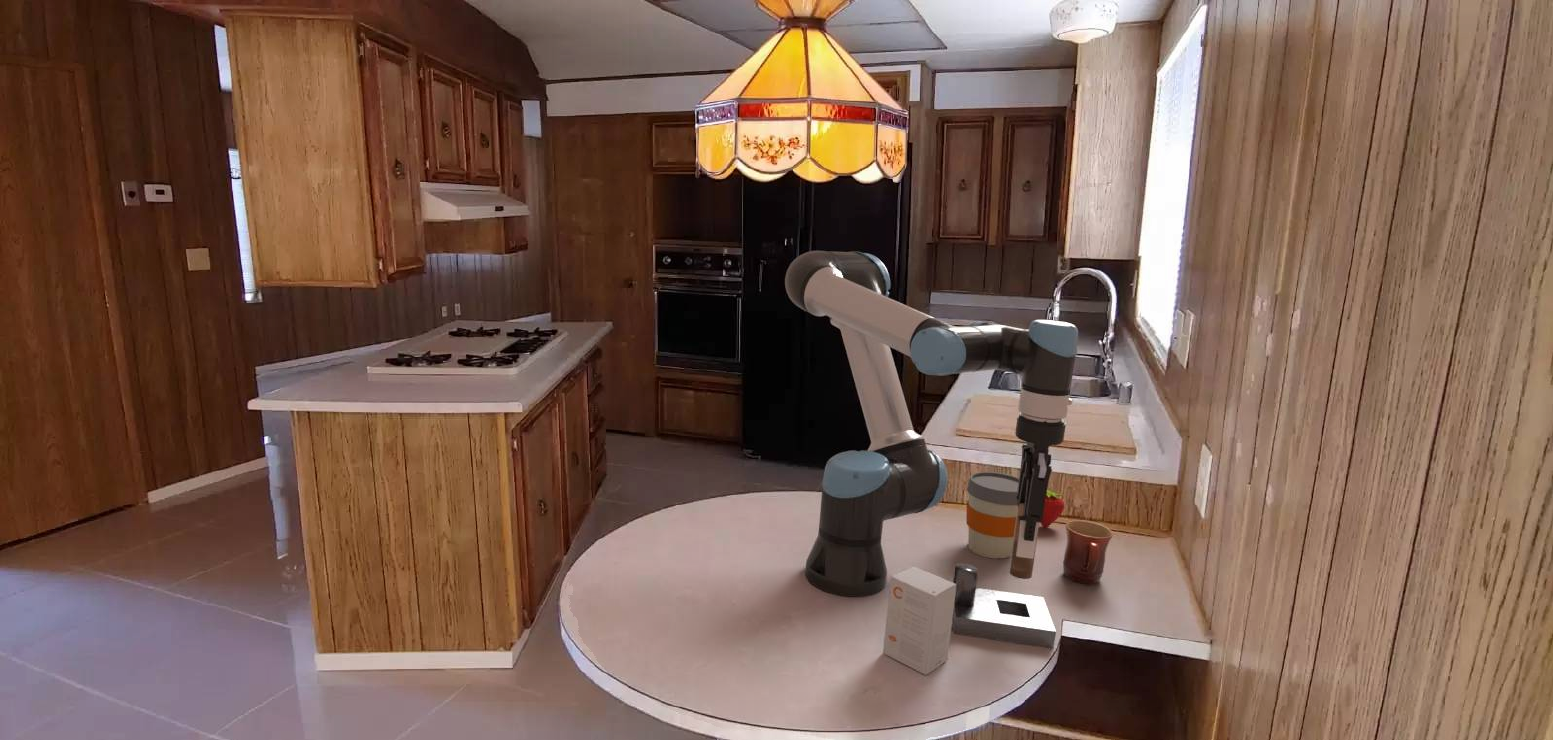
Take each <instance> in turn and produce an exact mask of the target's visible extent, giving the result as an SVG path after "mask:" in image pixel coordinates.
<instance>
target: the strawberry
mask: <svg viewBox="0 0 1553 740" xmlns="http://www.w3.org/2000/svg"><path fill="white" fill-rule="evenodd" d="M1049 485H1050V487H1051V490H1052V491H1050V490H1048V489H1047V494H1046V501H1045V507H1044V513H1043V521H1042V523H1040V524H1041V526H1042V527H1043V528H1049V527H1050V526H1051V525H1052V524H1053V523H1055V521H1057V519H1058V518H1059V517H1061V516H1062V513H1063V511H1064V510H1065V501H1064V500H1063V499H1062V498H1061V496H1063V494H1060V493H1055V492H1054V489H1053V487H1052V484H1049Z"/></svg>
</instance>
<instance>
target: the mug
mask: <svg viewBox="0 0 1553 740" xmlns="http://www.w3.org/2000/svg"><path fill="white" fill-rule="evenodd" d="M1065 530H1066V538H1067V539H1066V546H1065V551H1064V556H1063V561H1062V567H1063V568H1062V569H1063V570H1062V571H1063V573H1064V575H1065V576H1066V577H1067V579H1069V580H1071V581H1074V582H1076V583H1078V584H1083V585H1093V584H1096V583H1099V582H1100V581H1101V579H1102V576H1103V574H1104V571H1105V570H1104V568H1105V562H1106V553H1107V549H1108V546H1109V544H1110V542H1111V540H1112V539H1113V537H1114V532H1113V530H1112V529H1110V528H1108V527H1107V526H1104V525H1102V524H1100V523H1097V522H1093V521H1089V520H1082V519H1081V520H1080V519H1079V520H1077V519H1076V520H1075V519H1074V520H1069V521H1067V522H1066V523H1065Z"/></svg>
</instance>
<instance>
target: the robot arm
mask: <svg viewBox="0 0 1553 740" xmlns="http://www.w3.org/2000/svg"><path fill="white" fill-rule="evenodd" d="M784 286H785V290H786V293H787V295H788V298H789V299H790V300H791V302H792V303H793V304H794V305H795V306H797V307H798V308H800V309H801V310H803V311H804V312H807V313H809V314H811V315H813V316H815V317H824V316H826V317H829V321H830V324H831V325H832V326H834V327H836V328H838V329H839V330H840V332H841V333H840V334H841V337H842V340H843V341H842V342H843V344H844V347H845V348H844V349H845V350H846V351H845V352H846V355H847V359H848V362H849V366H850V369H851V374H852V377H853V380H854V383H855V384H854V385H855V388H856V391H857V395H858V398H859V399H858V400H859V401H860V406H861V409H862V413H863V417H864V420H865V425H866V428H867V432H868V435H869V439H870V445H869V447H868V449H867V450H865V449H864V450H860V451H859V450H847V451H842V452H839V453H836V454H835V455H833V456H831V457H830V458H829V459H828V460H827V462H826V465H825V467H824V473H823V478H822V481H821V484H822V485H821V486H822V489H821V501H820V512H819V522H818V534H817V537H816V539H815V540H814V544H813V545H812V548H811V550H810V552H809V554H808V556H807V559H806V562H805V572H804V573H805V577H806V579H807V581H808V582H809V583H811V584H812V585H813V586H815V587H816V588H818V589H820V590H822V591H824V592H827V593H830V594H834V595H839V596H846V597H864V596H870V595H873V594H877V593H878V592H881V591H882V590H884V589H885V587H886V583H887V578H888V577H887V575H888V568H887V565H886V561H885V555H884V550H883V547H882V535H883V527H884V522H885V521H887V520H892V519H896V518H899V517H904V516H908V515H912V514H918V513H923V512H924V511H926V510H929V509H932V508H934V507H935V506H936V505H938V504H939V502H941V500H942V499H943V495H944V494H945V492H946V491H947V486H948V470H947V469H946V465H945V462H944V461H943V459H942V457H941V456H940V455H937V453H936V452H935V451H934V450H931V449H928V446H927V444H926V441H925V437H924V436H922V435H920V434H918V433H917V432H916V431H915V430H914V426H913V423H912V420H911V419H912V418H911V415H910V413H909V410H908V406H907V402H906V400H905V396H904V392H903V389H902V385H901V381H900V379H899V374H898V371H897V367H896V365H895V361H894V357H893V354H892V350H891V348H892V349H893V350H896V352H900V353H901V354H903V355H906V356H908V357H910V358H911V361H912V364H914V365H915V367H916V369H917V370H918V371H919V372H921V373H923V374H924V375H928V376H930V375H931V376H940V377H944V376H950V375H954V374H962V373H963V374H964V373H973V372H974V373H975V372H982V371H984V372H985V371H1003V372H1007V373H1012V374H1016V375H1019V376H1022V379H1021V381H1022V382H1021V387H1020V394H1019V402H1018V407H1017V409H1018V412H1019V415H1017V418H1016V426H1015V436H1016V438H1018V440H1021V441H1023V442H1025V443H1026V444H1025V443H1022V445H1021V451H1022V452H1021V461H1020V468H1019V476H1018V478H1019V484H1018V492H1017V496H1016V499H1017V501H1018V504H1017V506H1018V507H1019V504H1020V503H1025V504H1024V514H1023V516H1018V519H1019V520H1021V523H1020V530H1019V537H1018V544H1017V551H1016V556H1017V557H1023V558H1031V559H1034V560H1035V557H1034V552H1035V553H1036V550H1035V545H1036V546H1037V543H1036V538H1037V539H1038V536H1037V531H1038V532H1039V529H1038V524H1039V525H1040V524H1041V523H1042V521H1043V513H1044V507H1045V501H1046V494H1047V490H1048V488H1049V481H1050V477H1051V473H1052V472H1053V469H1052V465H1051V464H1052V463H1051V462H1052V454H1051V453H1050V454H1049V449H1050V447H1051V446H1053V445H1054V446H1058V445H1061V444H1062V443H1063V442H1064V439H1065V432H1066V425H1067V423H1066V421H1065V420H1064V419H1065V418H1067V417H1068V416H1067V415H1068V409H1069V407H1068V405H1069V406H1071V405H1072V404H1073V402H1074V401H1073V399H1072V398H1070V397H1071V396H1070V395H1071V389H1072V388H1071V387H1072V383H1073V382H1072V380H1073V376H1074V374H1073V373H1074V368H1075V362H1076V358H1077V356H1078V339H1079V329H1078V328H1077V326H1076V325H1075V324H1072V323H1071V322H1070V323H1069V322H1066V321H1059V320H1058V321H1056V320H1051V319H1050V320H1049V319H1035V320H1032V321H1031V323H1030V324H1029V328H1028V329H1025V328H1019V327H1013V326H1009V325H1003V324H998V323H997V322H993V321H990V322H989V321H979V320H978V321H974V322H971V324H970V325H963V326H961V325H960V326H959V325H958V326H956V325H952V324H949V323H947V322H945V321H942V320H940V319H938V318H935V317H933V316H931V315H929V314H926V313H925V312H922V311H920V310H917V309H916V308H912V307H911V306H909V305H906V304H904V303H901V302H900V301H897V300H895V299H892V298H890V297H889V295H890V292H889V290H890V289H891V279H890V274H889V272H888V269H887V267H886V266H885V263H883V262H882V261H881V260H880V258H878V257H877V256H876V255H873V254H871V253H866V252H861V251H830V250H829V251H827V250H811V251H807V252H805V253H803V254H800V255H799V256H797V257H796V258H795V259H794V260H793V261H792V262H791V263H790V264H789V267H788V268H787V270H786V274H785V278H784ZM1017 514H1018V510H1017ZM1016 522H1017V518H1016ZM1015 529H1016V525H1015ZM1014 536H1015V532H1014ZM1013 544H1014V539H1013Z"/></svg>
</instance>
